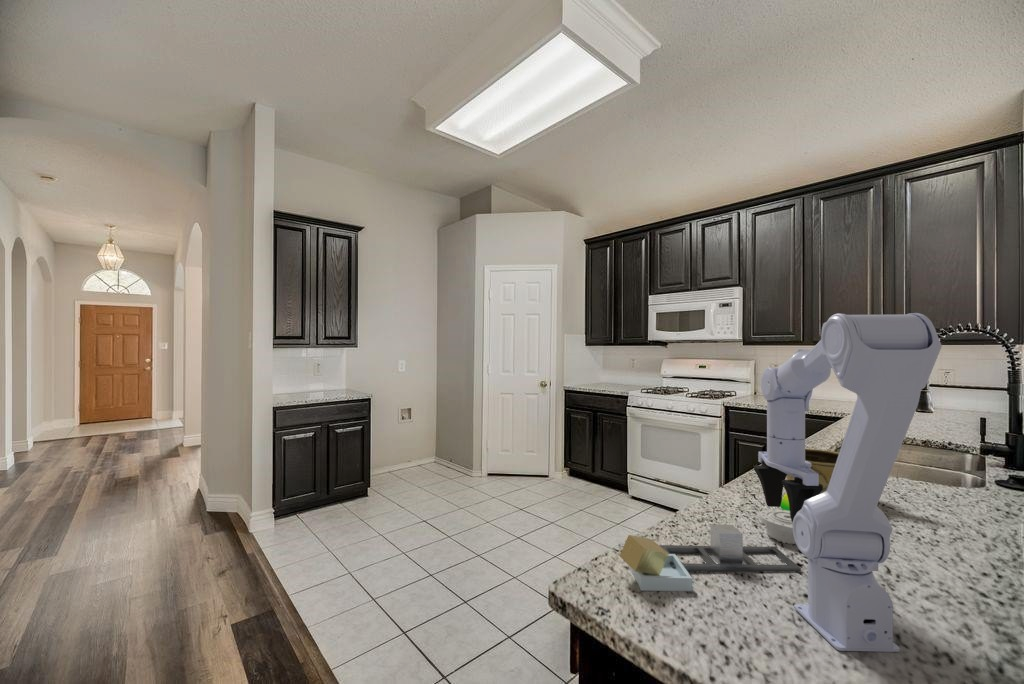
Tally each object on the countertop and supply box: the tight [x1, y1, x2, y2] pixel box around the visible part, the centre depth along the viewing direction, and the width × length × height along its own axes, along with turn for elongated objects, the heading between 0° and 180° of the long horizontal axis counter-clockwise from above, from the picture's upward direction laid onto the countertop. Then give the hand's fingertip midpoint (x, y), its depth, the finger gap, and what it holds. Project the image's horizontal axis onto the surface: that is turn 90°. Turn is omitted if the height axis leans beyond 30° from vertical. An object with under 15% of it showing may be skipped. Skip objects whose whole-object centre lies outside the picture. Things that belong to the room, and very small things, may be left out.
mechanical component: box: [759, 508, 797, 545], centre depth 91 cm, size 10×4×10 cm
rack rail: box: [658, 544, 802, 573], centre depth 81 cm, size 8×22×1 cm, turn 88°
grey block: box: [709, 523, 744, 564], centre depth 81 cm, size 4×4×6 cm
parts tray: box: [629, 553, 693, 592], centre depth 75 cm, size 8×8×2 cm
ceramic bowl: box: [785, 448, 839, 494], centre depth 115 cm, size 22×17×15 cm
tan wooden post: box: [619, 534, 669, 575], centre depth 75 cm, size 4×4×6 cm
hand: (785, 514), depth 78 cm, fingers open, 7 cm apart
